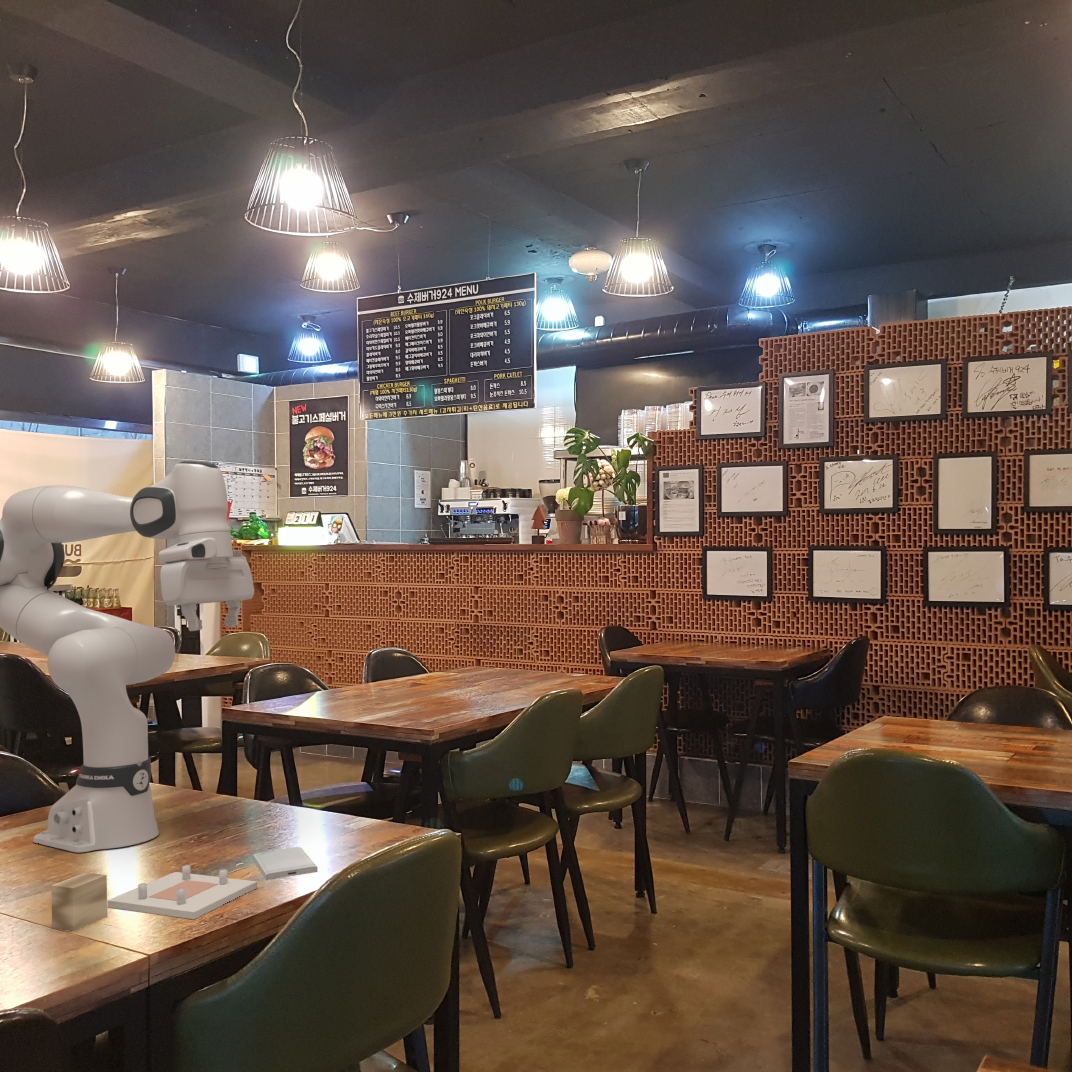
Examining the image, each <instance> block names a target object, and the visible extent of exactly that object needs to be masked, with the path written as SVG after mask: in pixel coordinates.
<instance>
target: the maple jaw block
mask: <svg viewBox="0 0 1072 1072" xmlns="http://www.w3.org/2000/svg"><path fill="white" fill-rule="evenodd" d="M107 876H108V875H107V874H101V873H92V872H83V873H81V874H77V875H75V876H73V877H70V878H68V879H64V880H62V881H59V882H56V883H54V884H51V885H50V886H51V890H50V891H51V892H50V893H51V928H52V929H53V928H55V929H54V930H59V929H62V930H61V931H66V930H69V931H68V932H72V931H74V932H76V931H78V929H79V930H81V929H83V928H86V927H88V926H90V925H92V924H94V923H97V922H99V921H102V920H103V919H106V918H108V903H107V900H108V882H107V879H108V878H107ZM87 925H88V926H87ZM80 928H81V929H80ZM75 930H76V931H75Z"/></svg>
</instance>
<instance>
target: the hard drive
mask: <svg viewBox="0 0 1072 1072" xmlns="http://www.w3.org/2000/svg"><path fill="white" fill-rule="evenodd" d="M252 861H253V863H254V864H255V865H256V867H257V868H258V870H259V871H260V872H261V874H262V876H263V877H264V879H265V880H266V881H268V880H270V881H271V880H275V879H282V878H288V877H295V876H300V875H301V876H302V875H306V874H307V875H308V874H312V873H318V866H317V865H316V864H315V863H314V862H313V860H312V859H311V858H310V857H309V855H307V853H306V852H305V850H303V848H302V847H300V846H293V847H288V848H282V849H275V850H269V851H261V852H257V853H254V854H252Z"/></svg>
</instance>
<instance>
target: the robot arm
mask: <svg viewBox="0 0 1072 1072" xmlns="http://www.w3.org/2000/svg"><path fill="white" fill-rule="evenodd" d="M221 470H222V469H221V468H220V467H219V466H218V465H216V464H215V463H211V462H203V461H196V460H195V461H193V460H192V461H191V460H190V461H189V460H186V461H185V460H184V461H180V462H177V463H175V465H174V466H173V468H172V470H171V471H170V473H168V474H167V475H166V476H165V477H164V478H162V479H160V480H159V481H157V482H155V483H154V484H151V485H150V486H146V487H142V488H141V489H140V490H138V492H137V493H136V494H135V495H134V497H129V496H124V495H118V494H113V493H108V492H105V491H99V490H94V489H90V488H86V487H79V486H74V485H65V484H63V485H62V484H57V485H55V484H54V485H44V486H37V487H31V488H28V489H24V490H23V489H22V490H21V491H18V492H15V493H12V495H11V496H10V497H9V498H8V499H7V500H6V501H5V502H4V505H3V508H2V512H1V513H2V514H1V519H0V629H2V630H3V631H4V632H5V633H6V634H8V635H10V636H11V638H13V639H15V640H16V641H18V642H20V643H22V644H23V645H26V646H27V647H29V648H31V649H33V650H35V651H37V652H38V653H40V654H42V655H43V656H46V657H47V660H46V661H47V662H46V663H47V670H48V674H49V677H50V678H51V679H52V682H53V683H54V684H55V685H56V686H58V687H59V688H61V690H64V692H65V693H66V694H67V695H68V696H69V697H70V698H71V700H72V702H73V704H74V705H75V708H76V710H77V712H78V713H77V714H78V716H79V719H80V724H81V733H82V736H81V737H82V750H83V751H82V752H83V753H82V754H83V757H82V758H83V764H81V766H77V767H75V768H72V769H71V771H74V772H72V773H71V775H72V776H73V775H74V776H75V775H77V777H76V781H75V785H74V786H73V787H72V788H70V790H69V791H68V792H67V793H65V794H64V795H63V796H61V797H60V798H59V799H58V800H57V801H56V802H55V803H53V805H52V806H51V807H50V809H49V812H48V817H47V829H45V830H43V831H41V832H38V833H37V834H35V835H34V836H33V839H32V840H33V841H32V842H33V843H34V844H38V843H39V845H42V846H43V845H44V846H49V847H52V848H56V849H59V850H60V849H61V850H64V851H68V852H73V853H86V852H87V853H88V852H91V851H96V850H108V849H115V848H116V849H117V848H123V847H129V846H132V845H137V844H142V843H145V842H147V841H149V840H152V839H154V838H156V837H157V836H158V835H159V834H160V831H159V828H158V820H156V815H155V809H154V803H153V795H152V787H151V785H150V783H151V778H152V764H151V763H152V762H151V760H152V759H151V758H150V757H149V734H148V733H149V730H148V729H149V728H148V726H149V725H148V719H147V716H146V714H145V713H144V712H142V710H140V709H138V708H136V707H134V706H133V704H132V703H131V700H130V698H129V696H128V692H127V685H132V684H134V685H135V684H138V683H140V684H141V683H146V682H148V681H150V680H153V679H155V678H157V677H160V676H162V675H163V674H165V673H167V672H168V671H169V670H170V669H171V667H172V666H173V664H174V662H175V658H176V647H175V643H174V642H175V641H174V639H173V637H172V636H171V635H170V633H168V631H166V630H165V629H164V628H161V627H156V626H152V625H147V624H143V623H140V622H134V621H131V620H128V619H125V618H123V617H119V616H115V615H112V614H108V613H104V612H101V611H97V610H94V609H91V608H88V607H84V606H83V605H80V604H79V603H77V602H75V601H73V600H70V599H68V598H67V597H64V596H63V595H60V594H58V593H57V592H54V591H52V590H50V588H52V587H53V586H54V585H55V583H56V582H57V579H58V577H59V576H60V574H61V572H62V569H63V567H64V564H65V559H66V558H65V557H66V554H65V553H66V552H65V549H64V546H63V544H67V543H74V542H75V543H76V542H82V541H88V540H92V539H96V538H102V537H107V536H113V535H119V534H123V533H132V532H137V533H138V534H139V535H140V536H142V537H144V538H147V539H148V538H149V539H155V540H178V542H177V543H175V544H173V545H171V546H169V547H167V548H164V549H162V550H160V551H159V552H158V560H159V562H160V564H163V565H162V566H161V568H160V571H159V572H160V574H159V575H160V591H161V597H162V600H163V602H164V603H165V605H166V606H168V607H169V606H170V607H172V606H173V607H174V606H180V609H181V613H182V614H183V616H184V618H185V619H186V621H187V626H188V631H189V632H195V631H202V629H203V621H202V619H199V617H198V616H197V614H196V611H197V604H211V603H223V602H224V603H225V602H226V607H227V608H228V611H227V616H225V617H224V618H223V619H224V625H225V627H226V628H230V627H237V626H238V625H239V617H238V616H239V614H240V611H241V607H242V601H247V600H252V599H253V597H254V595H255V588H254V587H255V586H254V580H253V576H252V571H251V568H250V565H249V563H248V561H247V556H245V554H243V553H242V552H241V551H240V550H233V543H232V542H233V541H232V533H231V527H230V525H229V522H228V511H229V503H228V501H229V500H228V493H227V488H226V483H225V479H224V476H223V473H222V471H221ZM75 770H77V771H75Z"/></svg>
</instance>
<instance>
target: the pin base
mask: <svg viewBox="0 0 1072 1072" xmlns="http://www.w3.org/2000/svg"><path fill="white" fill-rule="evenodd" d="M218 875H219V876H215V875H214V876H213V875H204V874H196V873H191V864H185V865H183V866H181V872H180V871H179V872H178V871H174V872H172V873H169V874H167V875H164V876H162V877H160V878H157V879H155V880H152V881H150V882H148V883H145V882H143V883H139V884H137V887H136V888H133V889H131V890H129V891H127V892H124V893H122V894H120V895H119V894H118V895H117V896H114V897H112V898H110V899H107V908H108V909H109V908H111V909H116V910H117V909H119V910H125V911H133V912H140V913H146V914H153V915H158V916H159V915H161V916H169V917H175V918H181V919H190V920H196V919H198V918H200V917H201V916H204V915H206V914H208V913H210V912H211V911H213V910H217V909H218V908H220V907H222V906H224V905H226V904H228V903H230V902H232V901H234V900H236V899H238V898H240V897H242V896H244V895H246V894H248V893H250V892H252V891H254V890H255V889H258V881H257V880H256V881H255V880H247V879H238V878H229V877H228V869H225V868H224V869H220V870H219V872H218ZM245 893H246V894H245ZM239 896H240V897H239ZM237 897H238V898H237ZM235 898H236V899H235ZM233 899H234V900H233ZM229 901H230V902H229ZM227 902H228V903H227ZM225 903H226V904H225ZM223 904H224V905H223Z"/></svg>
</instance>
